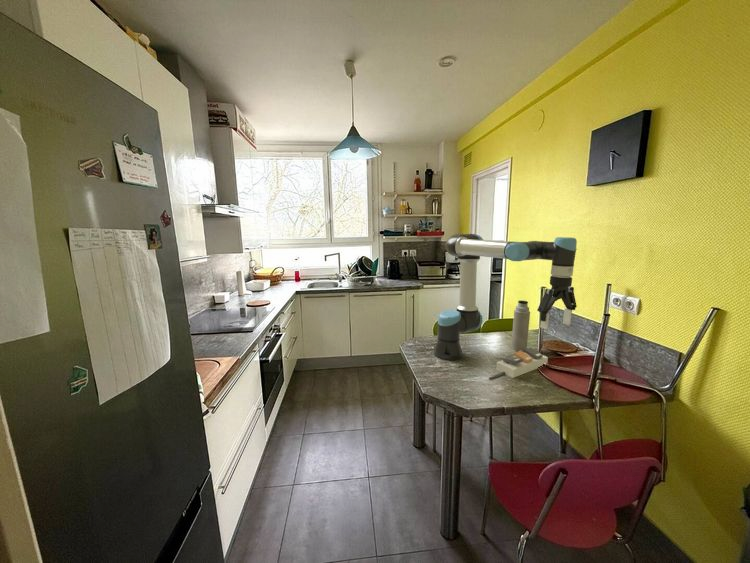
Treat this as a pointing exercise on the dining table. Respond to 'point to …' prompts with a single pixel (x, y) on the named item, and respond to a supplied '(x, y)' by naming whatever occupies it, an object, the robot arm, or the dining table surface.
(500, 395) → the dining table surface
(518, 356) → the orange flat block
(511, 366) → the power strip
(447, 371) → the dining table surface
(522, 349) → the thermos bottle
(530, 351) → the rocker
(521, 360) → the rocker
